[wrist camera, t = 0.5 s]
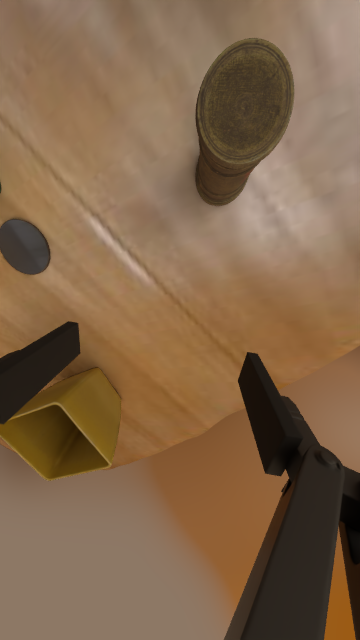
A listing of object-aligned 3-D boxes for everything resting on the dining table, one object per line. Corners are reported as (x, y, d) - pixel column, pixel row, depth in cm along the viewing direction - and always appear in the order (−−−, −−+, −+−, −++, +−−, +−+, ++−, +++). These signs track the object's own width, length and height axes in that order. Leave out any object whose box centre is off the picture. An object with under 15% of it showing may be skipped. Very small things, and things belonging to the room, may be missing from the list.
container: (202, 213, 35) (207, 185, 19) (189, 156, 32) (180, 63, 16) (251, 195, 34) (304, 147, 17) (242, 133, 31) (295, 1, 14)
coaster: (-4, 214, 39) (-7, 214, 38) (48, 225, 38) (45, 224, 38) (5, 268, 43) (3, 269, 42) (52, 278, 43) (50, 278, 42)
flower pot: (47, 373, 54) (-14, 426, 38) (101, 352, 49) (56, 401, 34) (86, 419, 59) (46, 481, 44) (137, 404, 55) (113, 467, 39)
